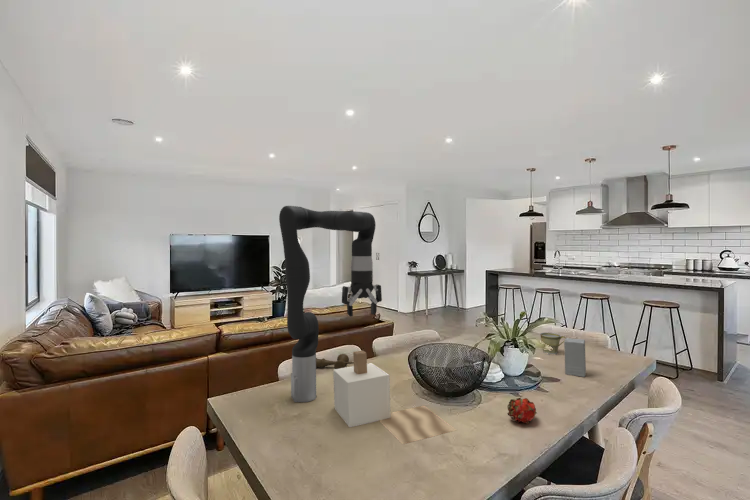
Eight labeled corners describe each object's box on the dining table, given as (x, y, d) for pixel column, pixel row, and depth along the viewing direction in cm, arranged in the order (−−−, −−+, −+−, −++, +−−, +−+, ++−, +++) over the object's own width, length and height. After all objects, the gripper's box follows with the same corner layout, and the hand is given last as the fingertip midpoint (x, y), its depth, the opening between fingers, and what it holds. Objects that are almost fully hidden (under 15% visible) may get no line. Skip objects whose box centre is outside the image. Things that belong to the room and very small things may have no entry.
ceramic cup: (543, 355, 201) (543, 336, 201) (538, 349, 211) (538, 332, 211) (569, 356, 199) (569, 337, 199) (562, 350, 209) (563, 333, 209)
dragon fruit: (505, 428, 127) (531, 425, 132) (523, 422, 121) (549, 419, 126) (497, 402, 131) (522, 400, 137) (514, 394, 125) (539, 393, 131)
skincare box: (585, 373, 174) (586, 339, 173) (584, 378, 168) (585, 342, 167) (565, 370, 178) (565, 336, 178) (563, 374, 172) (564, 340, 172)
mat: (402, 446, 113) (402, 444, 113) (374, 417, 131) (374, 416, 131) (457, 431, 121) (457, 430, 121) (423, 407, 140) (423, 405, 140)
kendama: (316, 365, 188) (356, 365, 187) (311, 372, 179) (353, 372, 177) (315, 353, 188) (355, 353, 186) (310, 360, 179) (352, 360, 177)
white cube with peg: (349, 427, 124) (347, 361, 123) (334, 410, 137) (332, 350, 137) (390, 417, 130) (388, 354, 130) (372, 401, 144) (370, 344, 143)
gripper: (346, 270, 126) (346, 319, 126) (384, 269, 132) (385, 315, 132) (339, 269, 133) (339, 315, 133) (375, 267, 139) (376, 311, 139)
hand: (362, 315), depth 133 cm, fingers open, 8 cm apart
